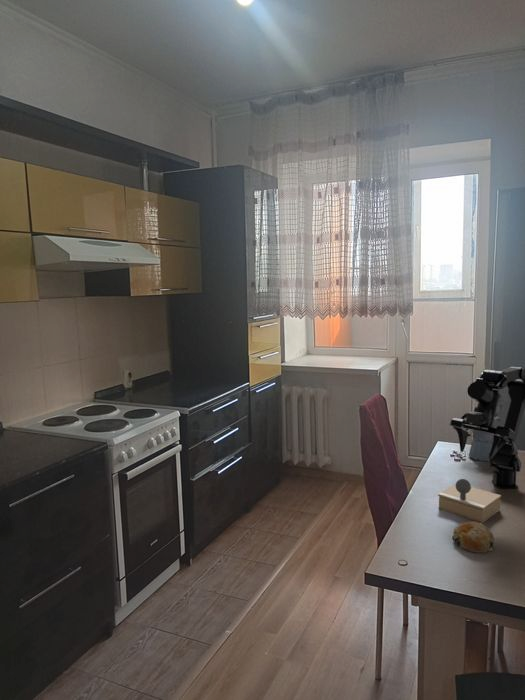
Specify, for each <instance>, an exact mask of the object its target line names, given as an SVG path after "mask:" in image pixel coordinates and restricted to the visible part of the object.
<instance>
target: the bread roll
mask: <svg viewBox="0 0 525 700" xmlns="http://www.w3.org/2000/svg"><path fill="white" fill-rule="evenodd" d="M453 530H454V531H453V535H452V537H451V539H452V541H454V542H455V544H456V546H458V547H460V549H462V550H465V551H468V552H470V553H471V552H472V553H477V554H483V553H487V552H489V553H491V552H492V551H493V550H494V548H493V545H494V542H495V541H494V540H495V539H494V535H493V533H492V531H491V530H490V528H488V527H487V526H486V525H484V523H480V522H477V521H467V522H463V523H461V524H460V525H458V527H456V528H455V529H453Z"/></svg>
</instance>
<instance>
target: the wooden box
mask: <svg viewBox="0 0 525 700" xmlns="http://www.w3.org/2000/svg"><path fill="white" fill-rule="evenodd" d="M500 506H501V498H499V499H498V500H497V501H495V502H494V503H492V504H491V505H490V506H488V507H487V508H485V509H484V510H482V509H479V508H475V507H472V506H469V505H466V504H463V503H459V502H456V501H453V500H450V499H446V498H443V497H440V496H438V510H441V511H444V512H448V513H450V514H454V515H456V516H460V517H462V518H466V519H468V520H471V521H473V522H477V523H482V524H484V523H485V522H486V521H488V520H489V519H490V518H491V517H493V516H494V515H496V514H497V513H499V511H500V508H501V507H500Z"/></svg>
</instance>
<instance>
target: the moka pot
mask: <svg viewBox="0 0 525 700" xmlns="http://www.w3.org/2000/svg"><path fill="white" fill-rule="evenodd" d="M466 416H467V412H466V413H464V414H463V415H462V417H460V418H459V419H464V420H465V419H466ZM501 421H503V418H501V417H500V416H497V417H495V418H494V423H493V426H494V428H496V427H497V426H499V424H500V423H501ZM471 424H473V423H471ZM479 429H480V428H479ZM484 429H487V428H484ZM471 430H472V429H471ZM487 430H488V429H487ZM471 433H472V434H470V433H469V434H468V437H471V435H472V441H471V446H470V449H469V454H468V457H469V458H471V459H473V460H475V461H478V462H479V461H480V462H490V459H489V454H490V451H491V448H492V444H493V440H494V436H493V435H495V434H492V433H487V432H482V431H477V430H472V432H471Z"/></svg>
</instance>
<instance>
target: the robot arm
mask: <svg viewBox="0 0 525 700" xmlns="http://www.w3.org/2000/svg"><path fill="white" fill-rule="evenodd" d="M506 387H507V389H508V391H507V392H508V393H507V394H508V396H509V398H510V403H509V407H508V411H507V414H506V418H505V421H504V425H503V426H501V425H500V426H499V425H498V426H497V427H496V428H494V426H493V423H494V418H495V417H498V416H497V415H498V413H497V409H498V405H499V401H500V399H501V398H502V395H501V394H500V392H499V391H500V390H503V389H504V388H506ZM467 394H468V396H469V397H470V398H472V399H473V400H474V401H475V402H476V403H477V406H475V407H474V409H473V411H468V412H466V413H467V416H466V418H464V419H460V418H457V417H453V418H452V419H451V420H450V424H449V426H451V427H453V430H455V431H456V433H457V436H458V442H459V449H460V452H461V453H463V452H464V451H465V447H466V444H467V440H468V437H469V436H468V434H470V433H469V432H468V430H477V431H482V432H487V433H492V434H494V435H493V440H492V443H493V444H492V448H491V451H490V454H489V459H490V461H489V465H490V467H491V468H492V467H493V469H494V470H493V472H492V480H491V483H493V484H494V485H496V487H498V488H499V489H517V488H519V485H517V472H521V468H522V462H521V460H520V458H519V456H518V454H519V450H518V449H517V445H516V442H517V438H518V433H519V430H520V427H521V426H520V425H521V423H522V419H523V416H524V415H523V414H524V410H525V367H521V366H508V367H507V368H504V369H500V370H494V369H483V371H482V372H481V373H480V374H479V375H478V377H477V378H476V380H475V381H473V382H471V383H470V384H469V385H468V387H467ZM472 423H473V424H472ZM479 428H480V429H479ZM484 428H487V429H488V430H487V429H484Z"/></svg>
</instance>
